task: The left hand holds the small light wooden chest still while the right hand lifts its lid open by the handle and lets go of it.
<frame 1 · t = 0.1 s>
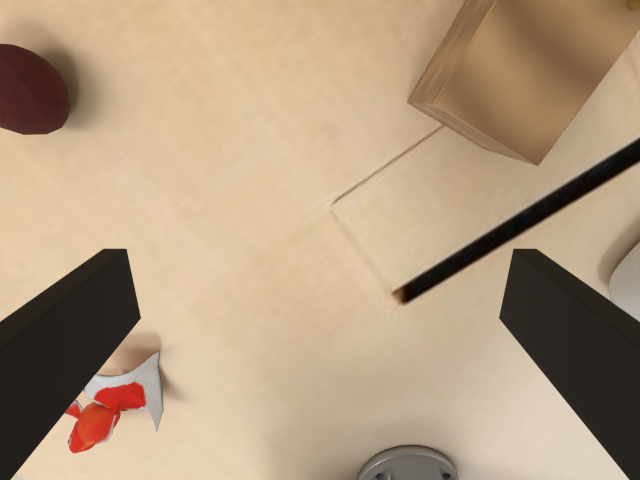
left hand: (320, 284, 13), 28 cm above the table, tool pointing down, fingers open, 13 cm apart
fish: (129, 377, 49), on the table
chest: (489, 58, 35), on the table
dark maroon ball: (49, 93, 36), on the table
lid: (582, 33, 23), point 13 cm above the table, hinge at 0.0°
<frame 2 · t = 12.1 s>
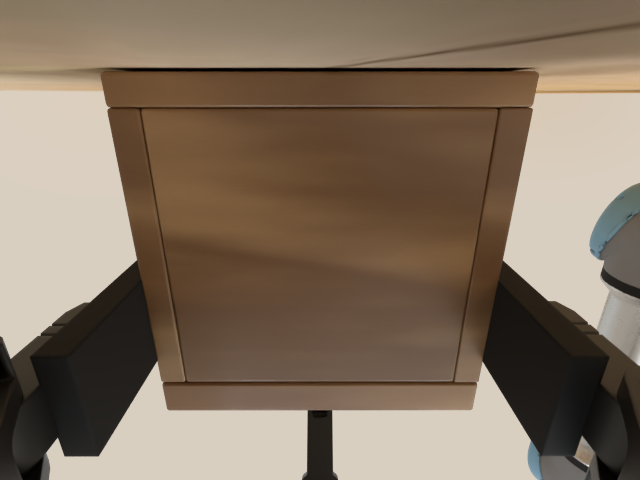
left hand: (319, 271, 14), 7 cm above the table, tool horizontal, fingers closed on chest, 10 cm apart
chest: (319, 82, 15), on the table, touching left hand
lid: (319, 345, 20), point 13 cm above the table, hinge at 0.0°
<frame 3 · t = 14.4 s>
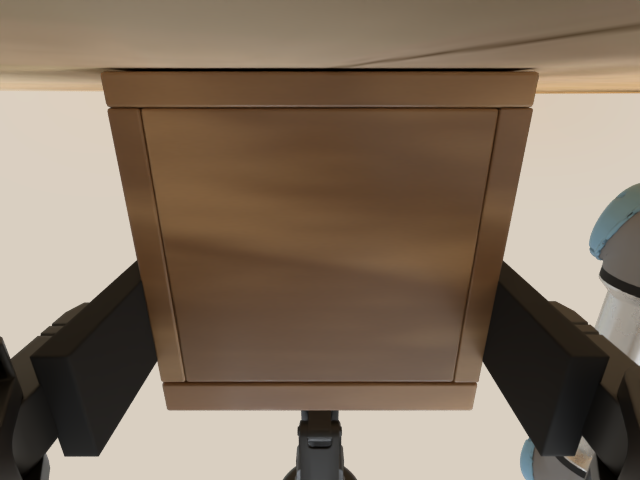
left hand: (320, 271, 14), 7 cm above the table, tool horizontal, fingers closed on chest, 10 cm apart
chest: (319, 82, 15), on the table, touching left hand
lid: (319, 345, 20), point 13 cm above the table, hinge at -0.1°, touching right hand
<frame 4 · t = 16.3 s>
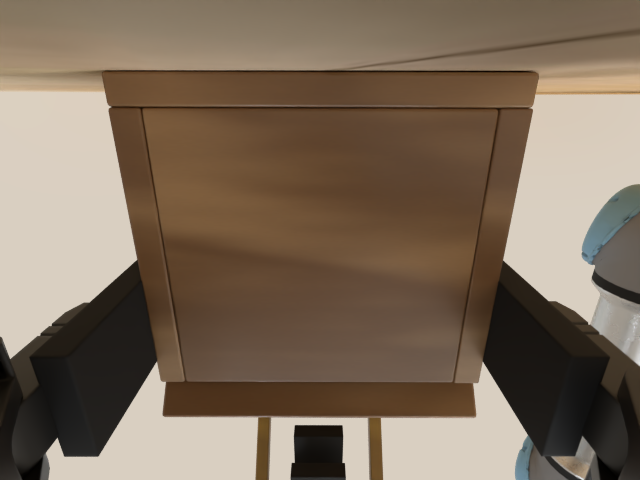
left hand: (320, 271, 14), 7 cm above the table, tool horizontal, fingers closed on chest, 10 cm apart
chest: (320, 83, 15), on the table, touching left hand
lid: (319, 458, 18), point 17 cm above the table, hinge at 36.7°, touching right hand
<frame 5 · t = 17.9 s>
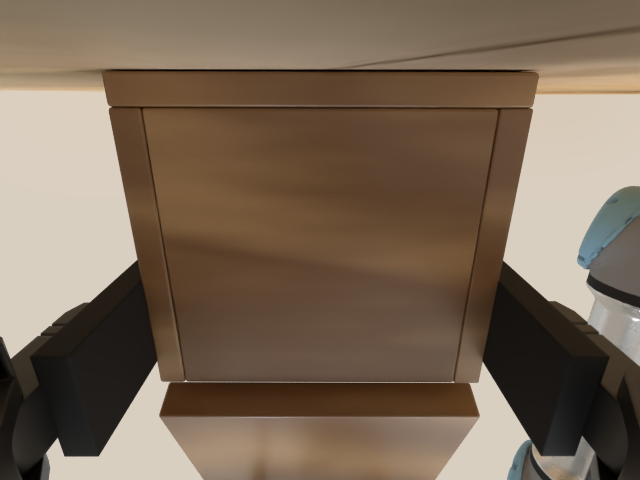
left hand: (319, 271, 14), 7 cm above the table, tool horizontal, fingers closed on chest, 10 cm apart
chest: (320, 82, 15), on the table, touching left hand
when the left hand's fingers open (7 cm above the table, at t = 22.1 s): chest stays where it is, on the table.
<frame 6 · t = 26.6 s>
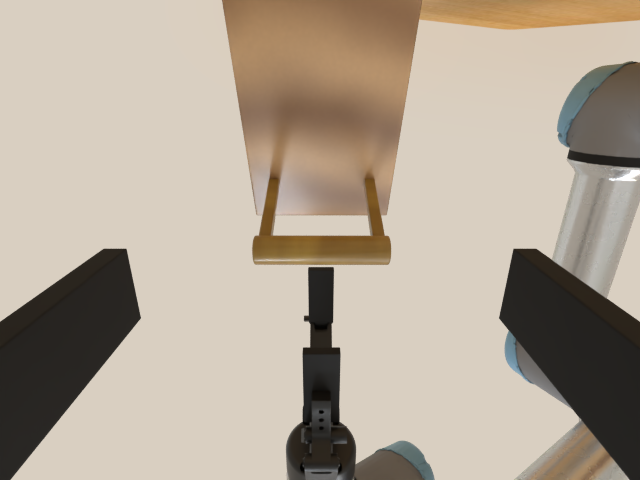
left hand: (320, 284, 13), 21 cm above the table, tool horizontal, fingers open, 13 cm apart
right hand: (321, 301, 33), fingers open, 13 cm apart
lid: (321, 150, 20), point 18 cm above the table, hinge at 67.1°
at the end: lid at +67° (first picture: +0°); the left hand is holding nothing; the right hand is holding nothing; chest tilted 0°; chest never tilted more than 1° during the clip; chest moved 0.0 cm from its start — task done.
